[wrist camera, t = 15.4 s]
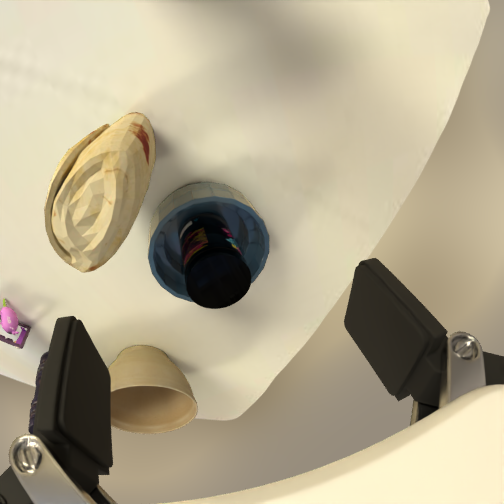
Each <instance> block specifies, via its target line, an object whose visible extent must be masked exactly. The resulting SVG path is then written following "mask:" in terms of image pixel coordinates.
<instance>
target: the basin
mask: <svg viewBox="0 0 504 504" xmlns="http://www.w3.org/2000/svg"><path fill="white" fill-rule="evenodd" d="M204 213H210V214H214V215H217V216H219V217H221V218H222V219H224V220H225V221H226V223H227V224H228V226H229V228H230V230H231V232H232V234H233V236H234V238H235V241H236V243H237V245H238V247H239V249H240V251H241V253H242V255H243V257H244V258H245V260H246V262H247V265H248V267H249V269H250V272H251V278H252V279H251V283H253V282H254V281H255V279H256V278H257V277H258V275H259V274H260V273H261V271H262V270H263V268H264V266H265V263H266V260H267V257H268V254H269V234H268V232H267V229H266V227H265V224H264V221H263V220H262V218H261V217H260V216H259V214H258V213H257V211H256V210H255V209H254V207H253V206H252V204H251V203H250V202H249V201H248V200H247V199H246V198H245V197H244V195H243V194H242V193H241V192H239V191H237V190H235V189H233V188H231V187H229V186H227V185H225V184H219V183H212V182H202V183H196V184H190V185H187V186H185V187H183V188H181V189H179V190H177V191H175V192H173V193H171V194H170V195H169V196H168V197H167V198H166V199H165V200H164V201H163V202H162V203H161V204H160V205H159V206H158V208H157V210H156V212H155V214H154V215H153V217H152V219H151V222H150V230H149V239H148V259H149V263H150V267H151V271H152V274H153V275H154V277H155V278H156V280H157V281H158V283H159V284H160V285H161V287H163V288H164V289H165V290H167V291H168V292H169V293H171V294H172V295H174V296H175V297H178V298H181V299H184V300H187V301H190V302H194V301H193V300H192V299H191V298H190V297H189V295H188V293H187V289H186V283H185V279H184V269H183V263H182V257H181V250H180V243H179V234H180V231H181V228H182V227H183V225H184V224H185V223H186V222H187V221H188V220H189V219H190V218H192V217H193V216H196V215H198V214H204Z"/></svg>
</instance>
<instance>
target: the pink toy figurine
mask: <svg viewBox="0 0 504 504" xmlns="http://www.w3.org/2000/svg"><path fill="white" fill-rule="evenodd" d="M5 300H6V299H3V306H4V307H3V308H2V309H1V311H0V313H1V315H0V320H2V322H1V323H0V324H1V325H2V327H3V329H4V330H5V331H6V332H7V333H9V334H12V333H13V334H14V335H15V333H16V334H18V333H19V332H16V329H17V327H18V325H19V326H22V327H24V328H27V331H26V330H25V329H24V328H22V327H21V329H22V331H21V334H20V336H19V338H18V339H17V341H15V342H13V340H12V339H10V338H6V339H5V336H2V335H0V340H1V341H3V342H6V343H8V344H11V345H13V346H15V347H16V348H17V349H20V348H21V349H22V348H23V346H24V344H25V341H26V339H27V337H28V334H29V332H30V329H31V327H29V326H26V325H24V324H21V323H19V322H18V318H17V315H16V313H15V312H14V311H13V310H12V309H11V308H9V307H6V305H7V304H6V302H5Z"/></svg>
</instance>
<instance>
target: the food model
mask: <svg viewBox="0 0 504 504" xmlns="http://www.w3.org/2000/svg"><path fill="white" fill-rule="evenodd" d="M155 159H156V151H155V138H154V133H153V129H152V127H151V124H150V122H149V120H148V119H147V118H146V117H145V116H144V115H143V114H141V113H138V112H135V113H129V114H127V115H126V116H124V117H122V118H121V119H119V120H118V121H117V122H115V123H114V124H113V125H111V126H109V124H106V125H103V126H101V127H99V128H98V129H96V130H95V131H93V132H92V133H90V134H89V135H87V136H86V137H85V138H83V139H82V140H81V141H80V142H78V143H77V144H76V145H75V146H73V147H72V148H70V149H69V150H68V151H67V153H66V154H65V155H64V157H63V158H62V159H61V161H60V162H59V164H58V166H57V169H56V171H55V173H54V176H53V178H52V180H51V182H50V185H49V190H48V194H47V198H46V203H45V207H44V211H45V227H46V232H47V235H48V238H49V241H50V243H51V245H52V247H53V248H54V250H55V251H56V253H57V254H58V255H59V256H60V257H61V258H62V259H63V260H64V261H65V262H66V263H68V264H69V265H71V266H72V267H74V268H76V269H77V270H79V271H81V272H90V271H93V270H96V269H97V268H99V267H100V266H102V265H104V264H105V263H106V262H107V261H108V260H109V259H110V258H111V257H112V256H113V255H114V254H115V253H116V252H117V250H118V249H119V247H120V246H121V244H122V243H123V241H124V240H125V238H126V237H127V235H128V234H129V232H130V230H131V227H132V225H133V223H134V221H135V219H136V217H137V215H138V213H139V210H140V208H141V205H142V203H143V200H144V196H145V194H146V192H147V190H148V186H149V181H150V177H151V173H152V169H153V166H154V163H155Z"/></svg>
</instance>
